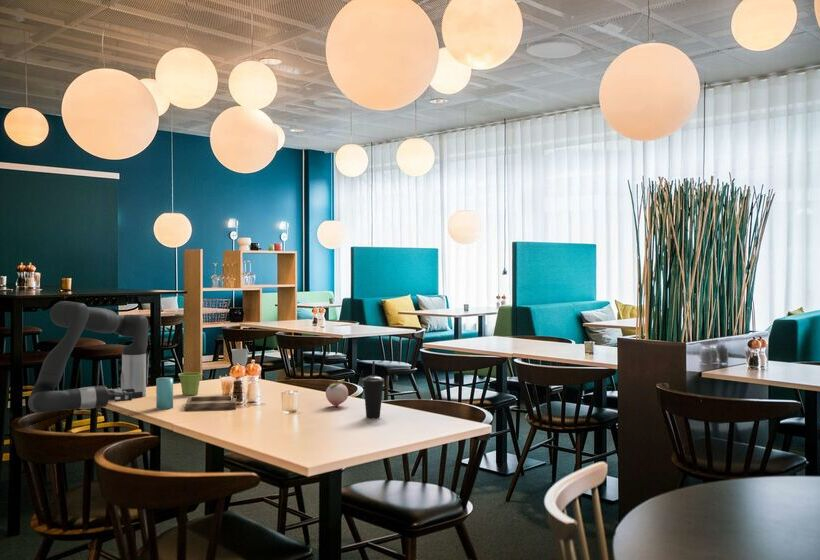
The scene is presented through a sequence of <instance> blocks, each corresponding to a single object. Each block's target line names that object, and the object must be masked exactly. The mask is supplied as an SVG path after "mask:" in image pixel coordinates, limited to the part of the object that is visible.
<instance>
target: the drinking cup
mask: <svg viewBox="0 0 820 560" xmlns="http://www.w3.org/2000/svg"><path fill="white" fill-rule="evenodd" d="M375 363H376V362H375V361H374V360H373V361H372V375H368V376H366V377H365V378H362V381H363V391H364V404H365V407H364V408H365V417H366V418H367V419H372V418H374V419H380V418H381V409H382V398H383V390H384V381H385V379H384V378H383V377H381V376H378V375H375V365H376V364H375ZM379 417H380V418H379Z"/></svg>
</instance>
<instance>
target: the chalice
mask: <svg viewBox="0 0 820 560" xmlns="http://www.w3.org/2000/svg"><path fill="white" fill-rule="evenodd" d="M230 350H231V352H232V354H231V355H232V356H231V358H232V360H231V361H232V365H233V366H234V365H236V364H237V363H240V364H241V365H242V366H245V367H246V365H247V363H248V351H249V349H248V348H233V349H230Z"/></svg>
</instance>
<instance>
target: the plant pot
mask: <svg viewBox="0 0 820 560" xmlns="http://www.w3.org/2000/svg"><path fill="white" fill-rule="evenodd" d="M177 375H178V377H179V380H180V386H181V394H182V396H188V397H190V396H196V395H198V394H199V387H200V381H201V376H202V375H203V373H202V372H196V371H195V372H191V371H190V372H182V373H178V374H177Z"/></svg>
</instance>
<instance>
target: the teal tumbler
mask: <svg viewBox="0 0 820 560" xmlns="http://www.w3.org/2000/svg"><path fill="white" fill-rule="evenodd" d="M155 381H156V384H155V386H156V388H155V393H156V394H155V395H156V396H155V400H156V401H155V402H156V403H155V404H156V405H155V406H156V407H155V408H156V409H157V410H171V409H174V378H173V377H170V376H169V377H167V376H166V377H158V378H156V379H155Z"/></svg>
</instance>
